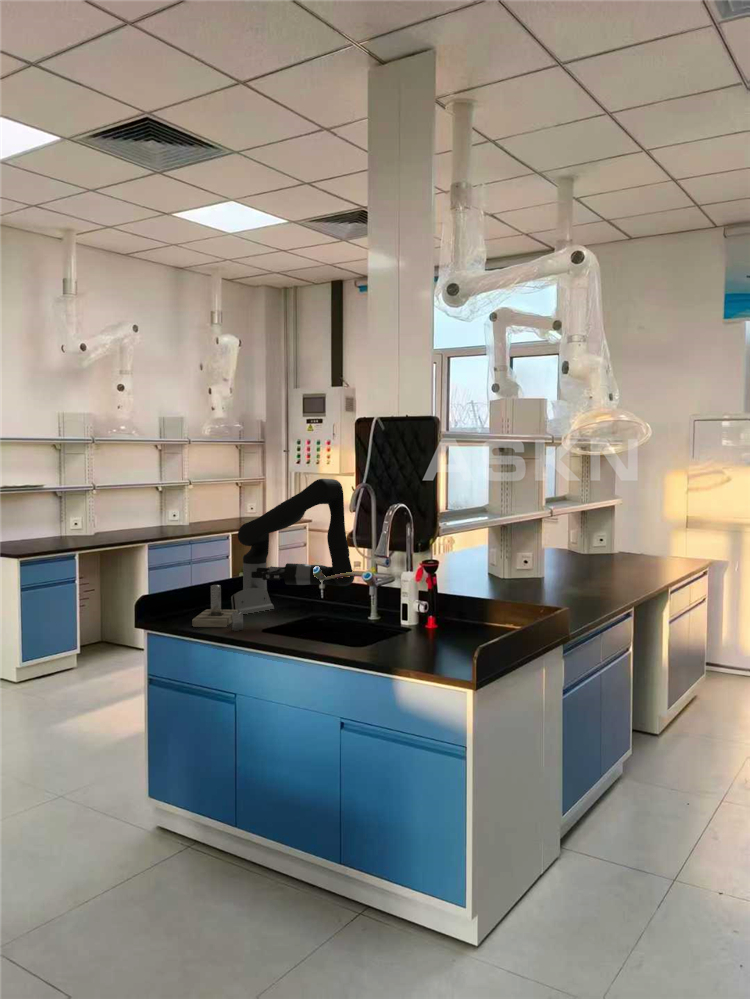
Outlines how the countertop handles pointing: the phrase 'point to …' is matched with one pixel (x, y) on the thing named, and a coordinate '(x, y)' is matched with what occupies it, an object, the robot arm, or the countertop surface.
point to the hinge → (251, 600)
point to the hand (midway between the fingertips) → (254, 572)
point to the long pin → (215, 600)
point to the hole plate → (213, 619)
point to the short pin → (237, 621)
